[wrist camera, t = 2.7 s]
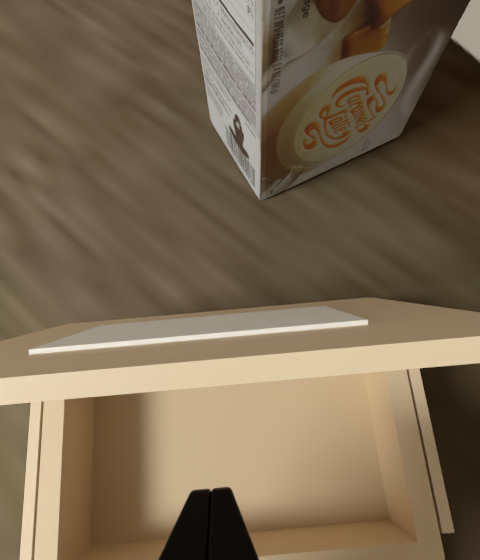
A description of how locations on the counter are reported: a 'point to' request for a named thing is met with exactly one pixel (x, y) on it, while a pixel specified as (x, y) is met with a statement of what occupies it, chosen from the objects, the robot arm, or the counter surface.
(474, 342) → the flap
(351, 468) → the carton
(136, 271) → the counter surface
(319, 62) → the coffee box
